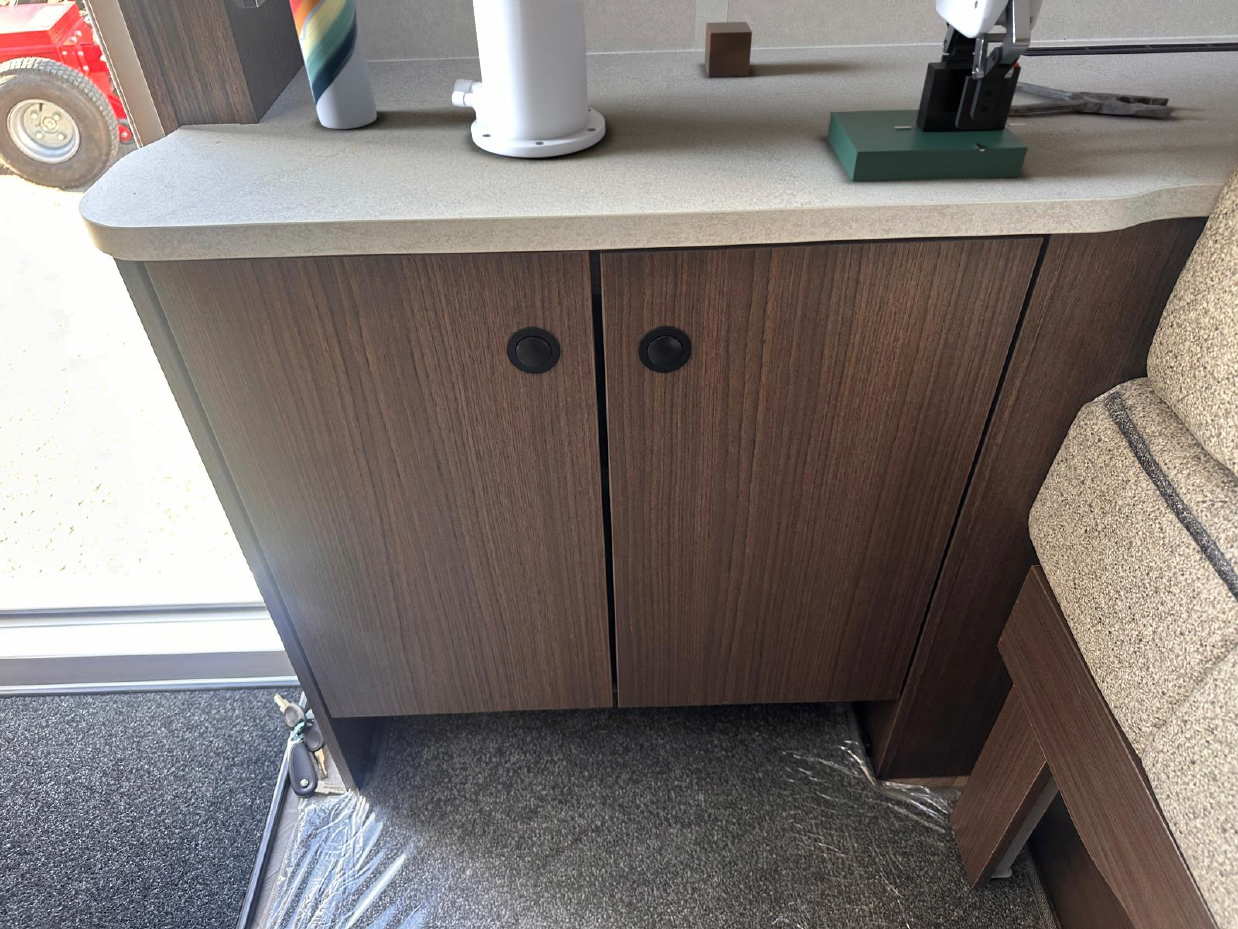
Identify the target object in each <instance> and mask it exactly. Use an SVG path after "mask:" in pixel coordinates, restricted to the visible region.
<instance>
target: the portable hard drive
mask: <svg viewBox="0 0 1238 929" xmlns="http://www.w3.org/2000/svg"><path fill="white" fill-rule="evenodd" d="M973 63H974V61H968V62H941V61H934V62H933V61H932V62H931V61H929V62H928V64H927V68H926V74H925V77H924V81H923V82H924V83H923V88H922V91H921V96H920V102H919V106H918V110H919V111H918V116H917V121H916V125H917V126H918V127H919V128H920V129H921V130H922V132H932V131H970V130H1004V129H1005V127H1006V125H1007V121H1008V117H1009V115H1010V114H1009V111H1010V107H1011V105H1012V103H1013V99H1014V97H1015V96H1014V95H1015V92H1016V90H1015V89H1016V85H1017V81H1018V82H1019V77H1020V75H1021V74H1020V73H1021V71H1022V66H1021V65H1020V63H1019V62H1018V61H1017V63H1016V64H1015V65H1014V69H1013V74H1012V76H1011V78H1010V79H1008V83H1007V86H1006V90H1005V94H1004V98H1003V101H1002V105H1001V109H1000V112H999V116H998V120H997V124H996V126H995V127H994V128H992V129H964V130H961V129H958V128H957V127H956V125H955V123H956V118H957V114H958V110H959V106H960V101H961V97H962V93H963V89H964V85H965V80H966V76H972V71H973Z"/></svg>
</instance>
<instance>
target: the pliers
mask: <svg viewBox="0 0 1238 929" xmlns="http://www.w3.org/2000/svg"><path fill="white" fill-rule="evenodd" d="M1015 91H1019V92H1023V93H1028V94H1033V95H1036V96H1037V95H1038V96H1042V97H1046V98H1049V99H1055V101H1045V102H1037V103H1027V104H1011V107H1010V111H1009V114H1008V115H1024V114H1025V115H1026V114H1036V113H1046V112H1047V113H1048V112H1059V111H1076V112H1082V113H1099V114H1107V115H1123V116H1139V117H1141V116H1143V117H1159V118H1170V117H1171V114H1172V112H1173V109H1174V107H1173V106H1167V105H1168V103H1169V101H1170V98H1168V97H1156V96H1148V95H1147V96H1145V95H1135V94H1134V95H1133V94H1123V93H1122V94H1121V93H1113V92H1112V93H1111V92H1091V91H1068V90H1062V89H1057V88H1052V87H1047V86H1043V85H1037V84H1033V83H1028V82H1024V81H1019V80H1018V81H1017V85H1016V89H1015Z"/></svg>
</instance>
